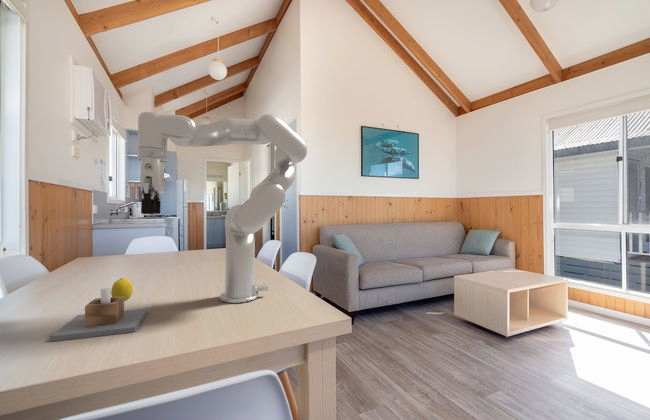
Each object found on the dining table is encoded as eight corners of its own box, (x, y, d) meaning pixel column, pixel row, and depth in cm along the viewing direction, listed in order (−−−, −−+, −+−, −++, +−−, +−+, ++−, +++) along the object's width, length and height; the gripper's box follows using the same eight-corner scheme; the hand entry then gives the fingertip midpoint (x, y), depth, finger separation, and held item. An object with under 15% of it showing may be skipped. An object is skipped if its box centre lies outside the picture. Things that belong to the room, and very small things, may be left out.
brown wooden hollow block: (123, 315, 78) (124, 296, 78) (116, 323, 72) (116, 303, 72) (94, 317, 76) (95, 298, 76) (84, 327, 70) (85, 306, 70)
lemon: (121, 306, 88) (122, 280, 88) (106, 305, 89) (106, 279, 89) (136, 301, 93) (137, 276, 93) (122, 300, 94) (122, 275, 95)
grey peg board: (147, 312, 83) (147, 280, 83) (135, 331, 70) (135, 293, 70) (77, 319, 78) (78, 284, 78) (50, 341, 64) (51, 299, 65)
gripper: (162, 151, 80) (160, 214, 80) (170, 161, 96) (169, 213, 96) (130, 149, 77) (128, 213, 77) (144, 159, 93) (143, 213, 93)
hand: (151, 213), depth 86 cm, fingers open, 9 cm apart
